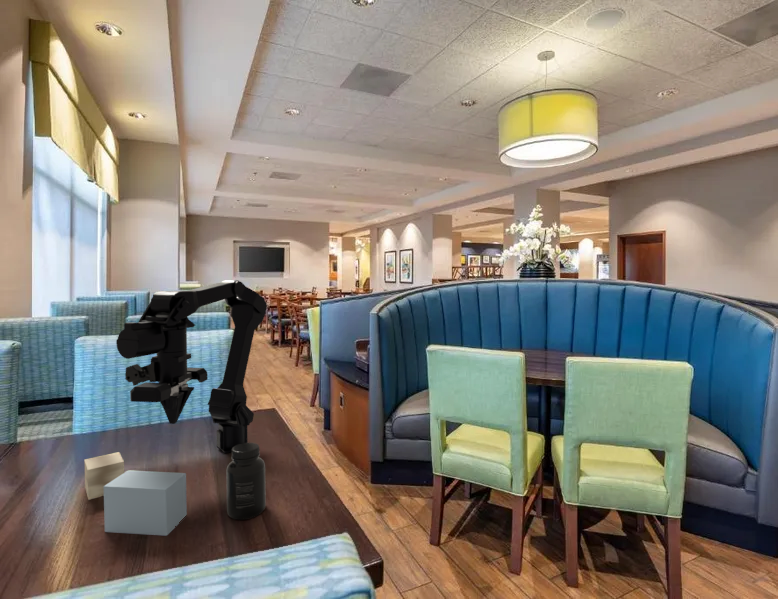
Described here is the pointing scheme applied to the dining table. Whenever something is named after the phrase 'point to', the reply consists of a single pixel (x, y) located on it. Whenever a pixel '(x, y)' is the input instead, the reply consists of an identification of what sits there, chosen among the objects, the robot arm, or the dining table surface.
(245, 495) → the supplement bottle
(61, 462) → the dining table surface
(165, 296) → the robot arm
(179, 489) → the gray block
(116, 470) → the birch cube
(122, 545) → the dining table surface
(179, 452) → the dining table surface
